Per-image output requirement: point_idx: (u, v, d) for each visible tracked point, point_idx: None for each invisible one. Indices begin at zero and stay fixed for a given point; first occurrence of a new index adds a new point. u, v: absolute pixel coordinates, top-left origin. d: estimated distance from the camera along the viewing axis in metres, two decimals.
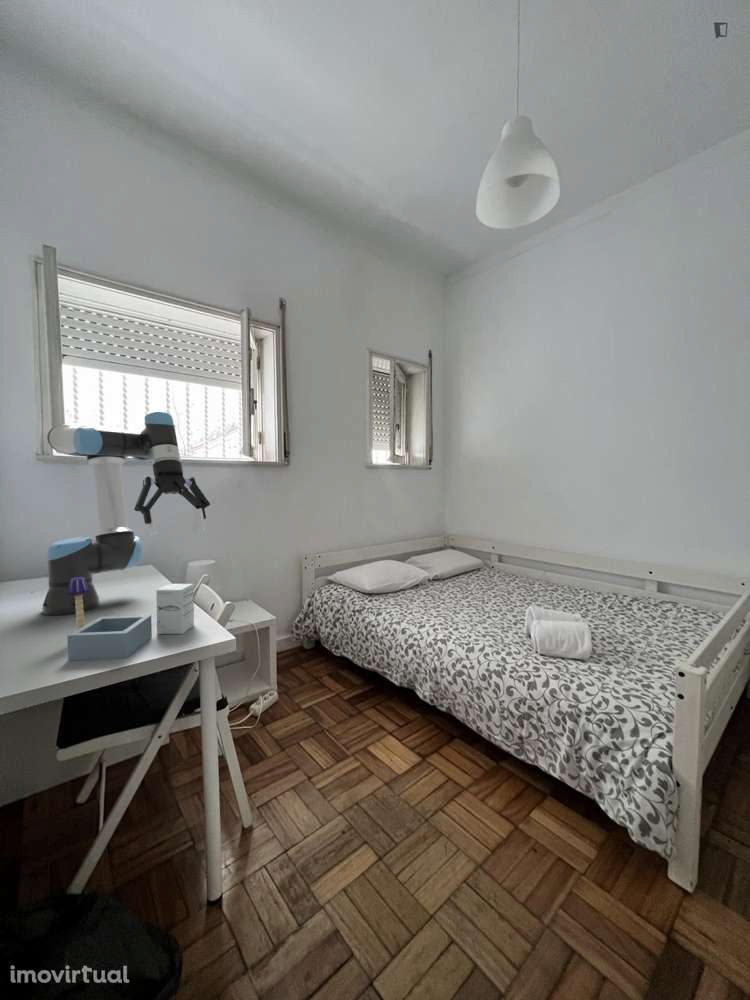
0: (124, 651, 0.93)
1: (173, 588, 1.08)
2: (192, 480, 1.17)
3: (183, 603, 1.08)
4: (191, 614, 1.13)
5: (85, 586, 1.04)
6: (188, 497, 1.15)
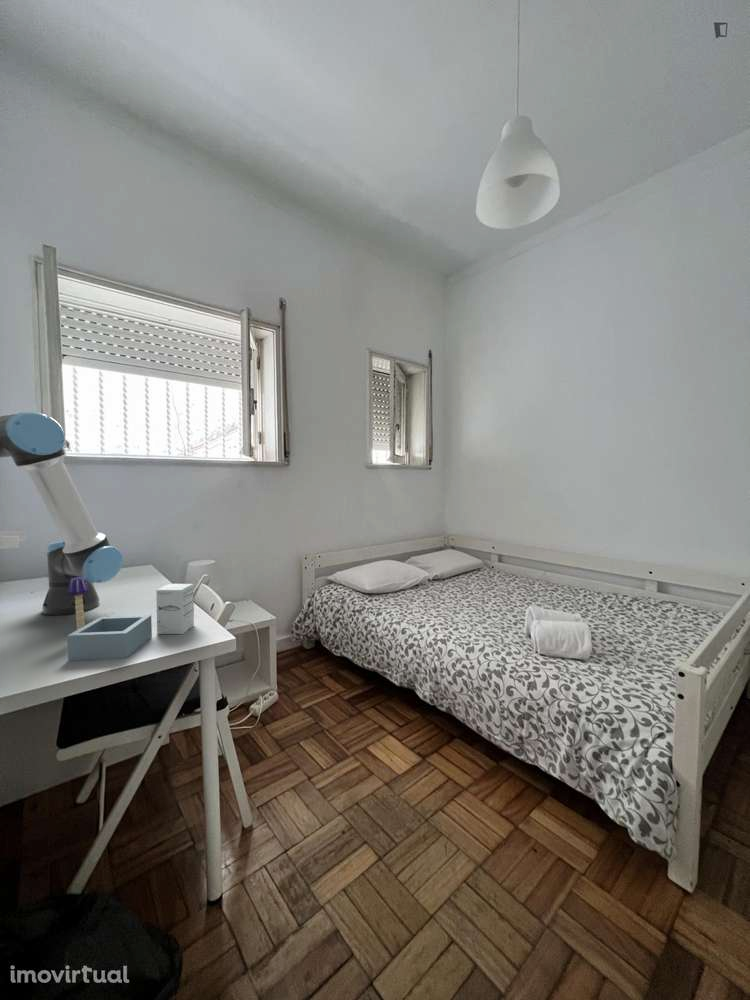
0: (124, 651, 0.93)
1: (173, 588, 1.08)
2: None
3: (183, 603, 1.08)
4: (191, 614, 1.13)
5: (85, 586, 1.04)
6: None
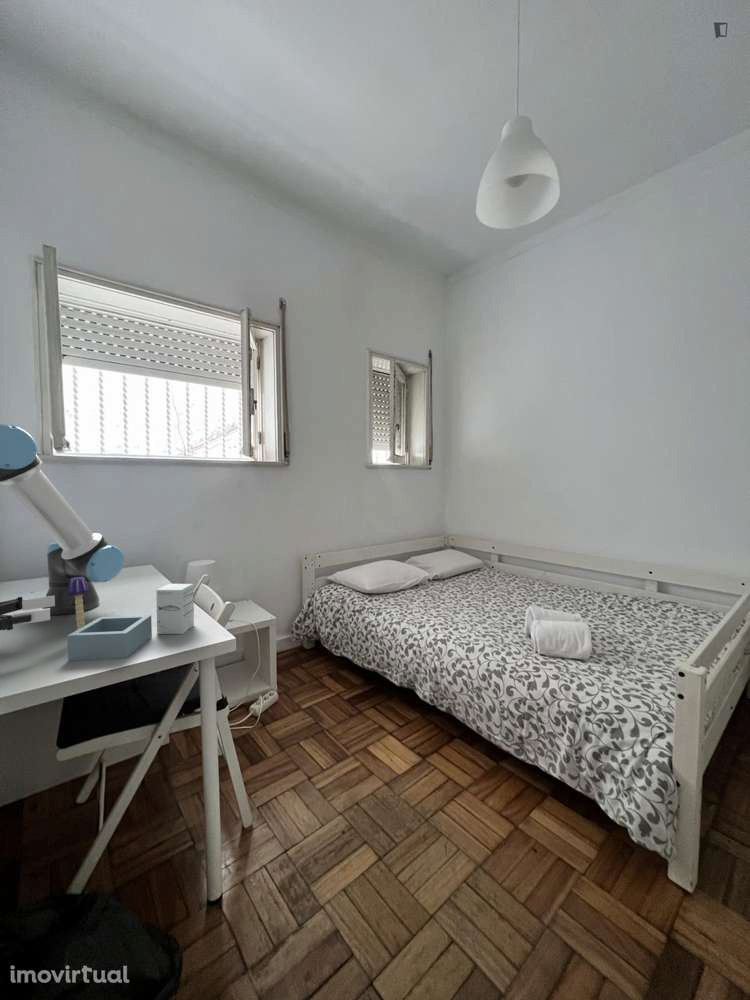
0: (124, 651, 0.93)
1: (173, 588, 1.08)
2: None
3: (183, 603, 1.08)
4: (191, 614, 1.13)
5: (85, 586, 1.04)
6: None
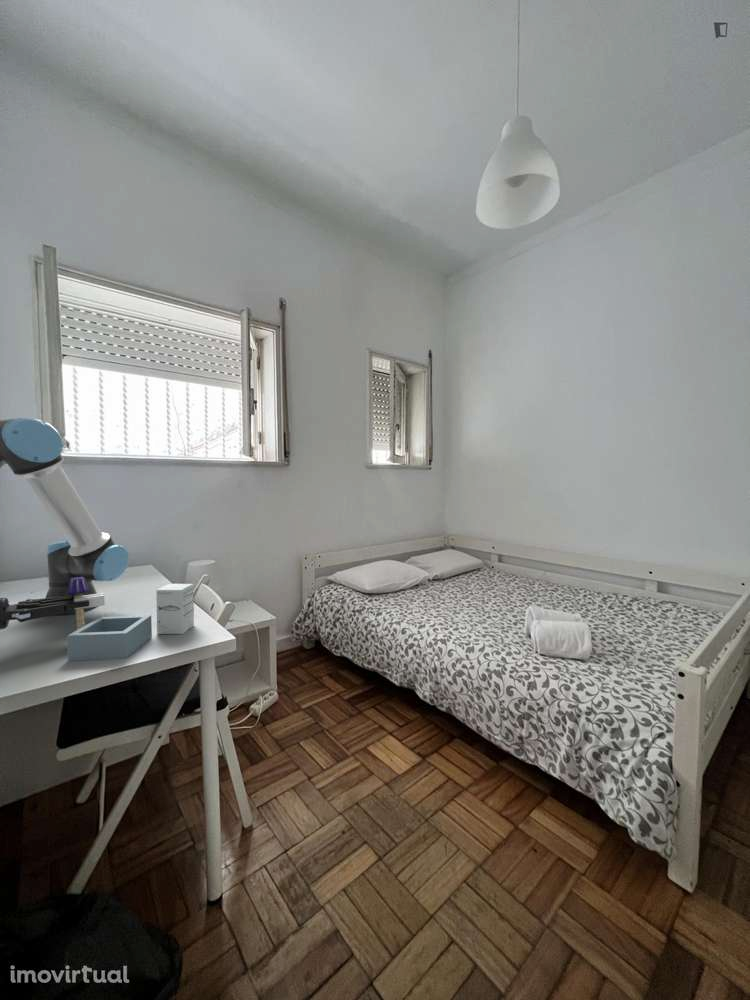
0: (124, 651, 0.93)
1: (173, 588, 1.08)
2: None
3: (183, 603, 1.08)
4: (191, 614, 1.13)
5: (85, 586, 1.04)
6: None
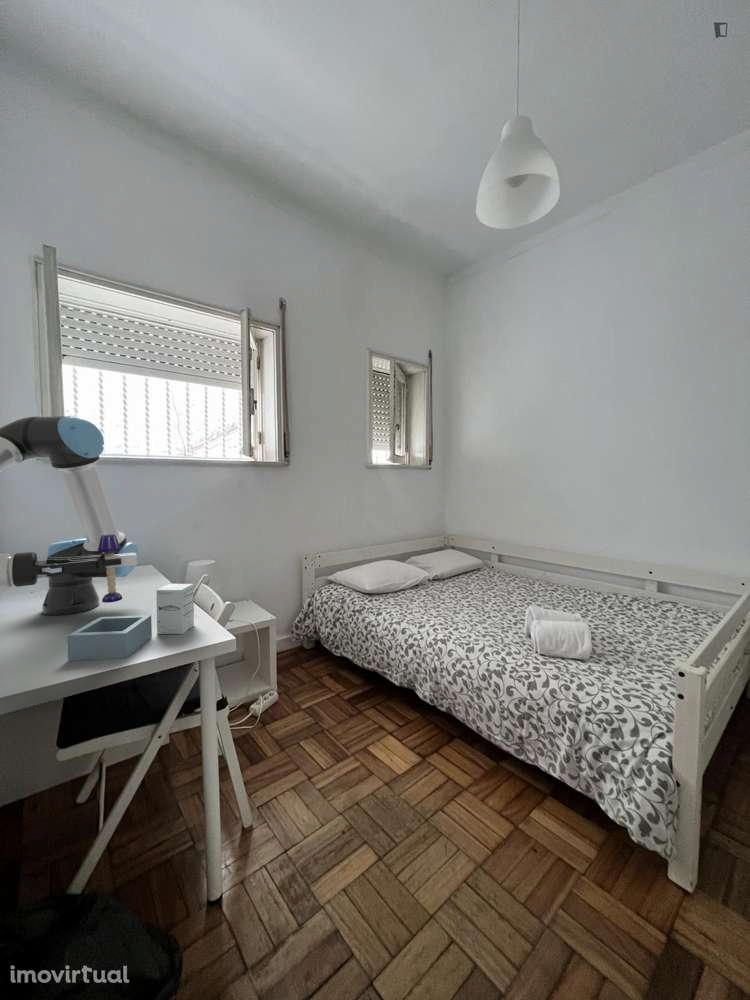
0: (124, 651, 0.93)
1: (173, 588, 1.08)
2: None
3: (183, 603, 1.08)
4: (191, 614, 1.13)
5: (117, 543, 0.97)
6: None
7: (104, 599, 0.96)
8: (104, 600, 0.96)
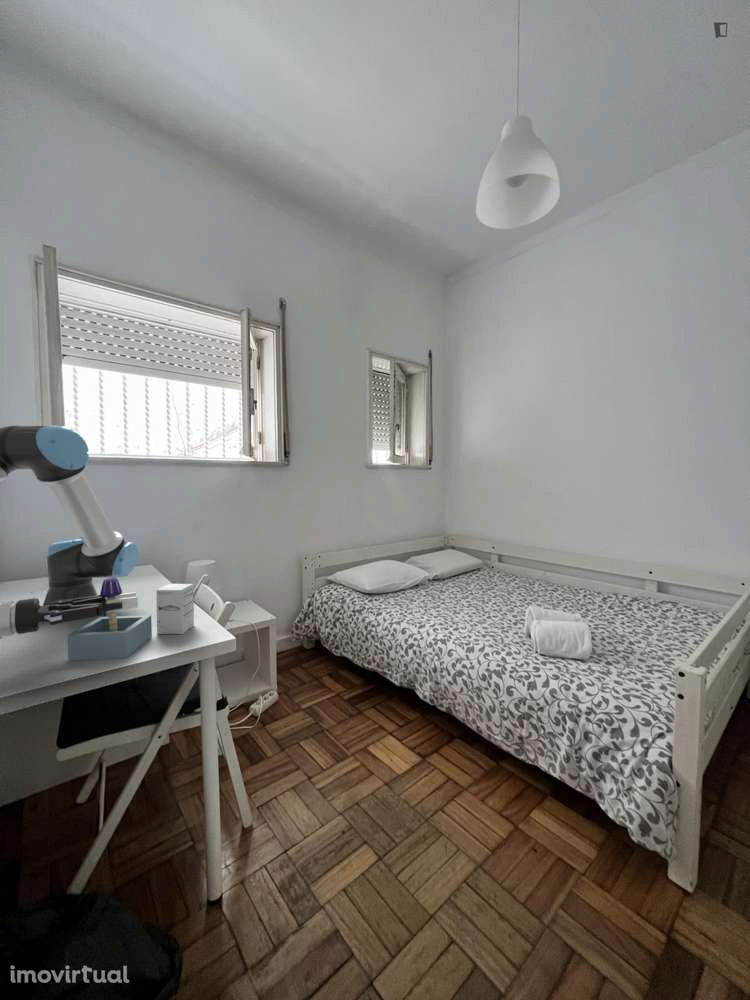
0: (124, 651, 0.93)
1: (173, 588, 1.08)
2: None
3: (183, 603, 1.08)
4: (191, 614, 1.13)
5: (119, 588, 0.98)
6: None
7: None
8: None
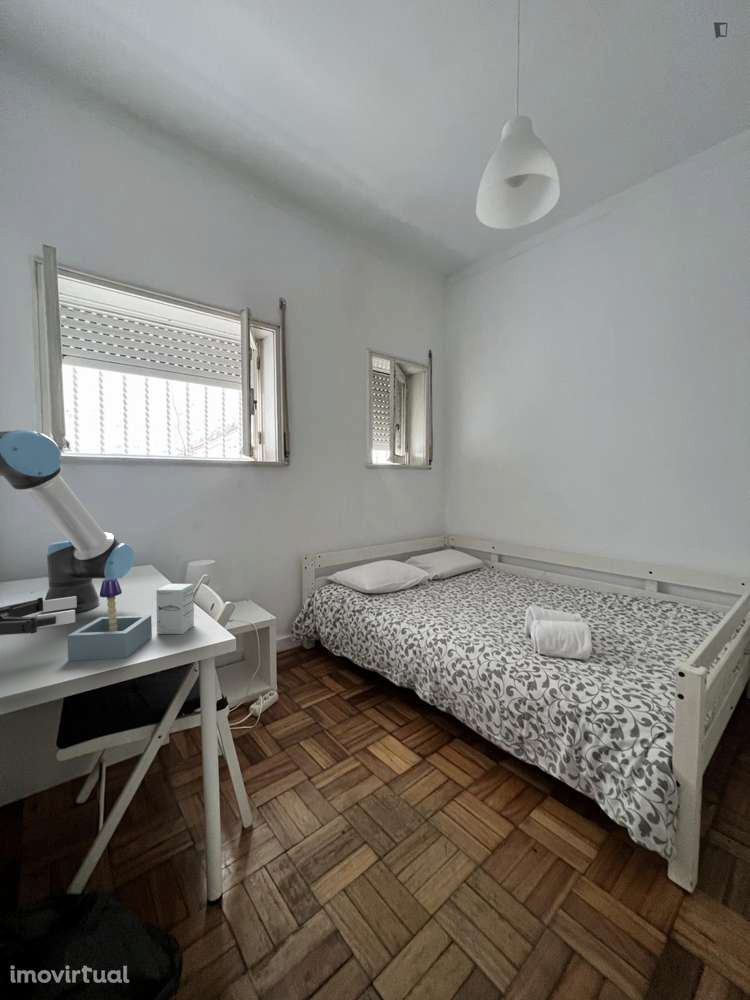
0: (124, 651, 0.93)
1: (173, 588, 1.08)
2: None
3: (183, 603, 1.08)
4: (191, 614, 1.13)
5: (118, 588, 0.98)
6: None
7: None
8: None
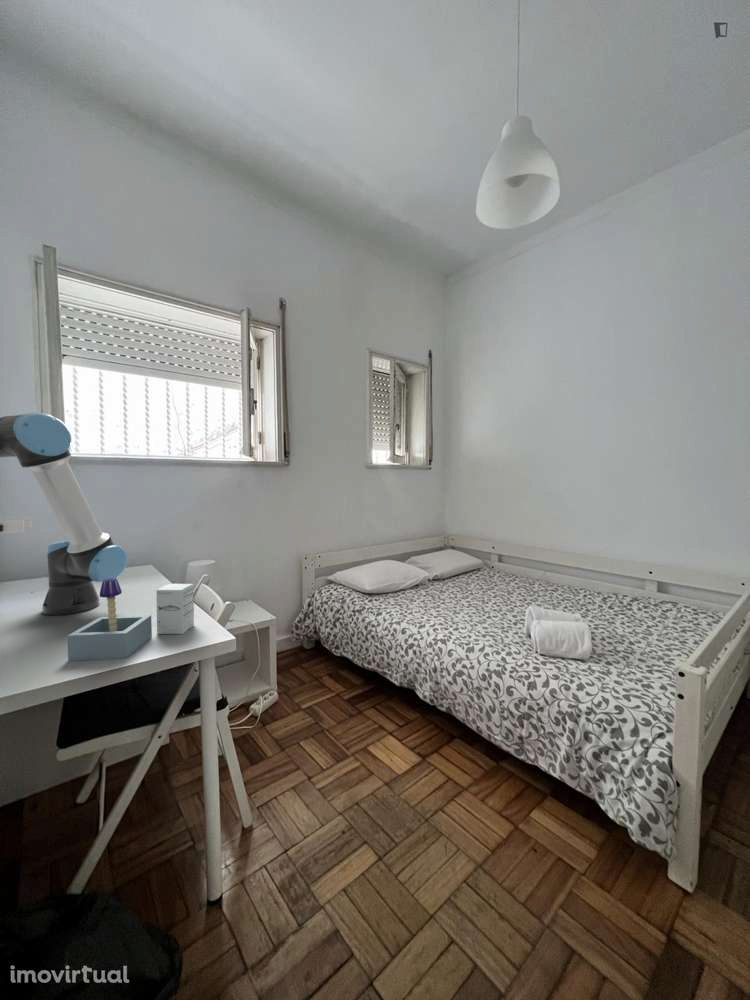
0: (124, 651, 0.93)
1: (173, 588, 1.08)
2: None
3: (183, 603, 1.08)
4: (191, 614, 1.13)
5: (118, 588, 0.98)
6: None
7: None
8: None
